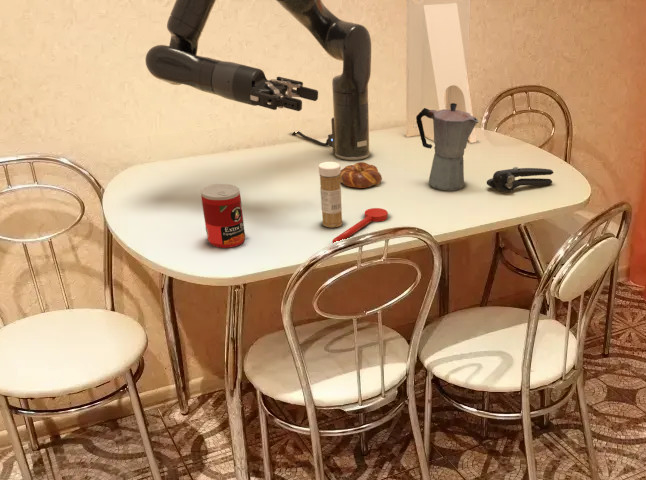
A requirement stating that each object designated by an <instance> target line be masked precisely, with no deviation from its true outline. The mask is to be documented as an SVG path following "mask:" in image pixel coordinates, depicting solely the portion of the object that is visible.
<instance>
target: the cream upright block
mask: <svg viewBox="0 0 646 480" xmlns="http://www.w3.org/2000/svg"><path fill="white" fill-rule="evenodd" d="M471 5H472V0H418V1H416V0H406V39H405V40H406V47H405V48H406V51H405V53H406V55H405V56H406V57H405V58H406V60H405V61H406V62H405V64H406V65H405V67H406V69H405V70H406V73H405V74H406V76H405V77H406V78H405V79H406V81H405V85H406V86H405V93H406V94H405V119H406V120H405V129H406V130H405V136H406V137H408V138H410V137H417V136H420V132H419V128H418V125H417V126H415V127H414V123H415V121H416V116H417V115H418V114H419V113H420V112H421V111H422V110H423V109H424V108H426V109H429V110H436V111H440V110H443V109H446V110H451V106H450V104H451V103H455V104H457V106H456V110H460V111H463V112H467V113H470V115H471V116H473V117H474V115H473V113H474V112H473V107H472V106H473V105H472V99H471V93H470V86H469V85H470V84H469V79H468V73H469V71H468V70H469V51H470V50H469V49H470V31H471V30H470V28H471ZM421 121H422V124H423V130H424V134H425V136H424V137H425V138H426V139H429V140H431V141H433V142H434V124H433V119H431V118H428V117H426V116H423V117H422V118H421ZM475 127H476V126H475ZM475 127H474V129H473V130H472V132H471V134H470V136H469V137H468V143H470V144H473V143H477V134H476V128H475Z"/></svg>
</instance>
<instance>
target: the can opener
mask: <svg viewBox="0 0 646 480" xmlns="http://www.w3.org/2000/svg"><path fill="white" fill-rule="evenodd" d="M553 174H554V171H553V170H552V169H549V168H539V167H538V168H537V167H521V168H519V167H518V166H514V167H512V168H509V169H501V170H497V171H495V172H494V173H493V175H492V177H491V178H489V179H487V180H486V185H488V187H490V188H492V189H496V190H499V191H500V192H503V193H511V192H513V191H514V190H515V189H516V188H518V187H521V186H529V187H531V186H533V187H542V186H548V185H551V184H552V183H553V180H552V179H551V178H540V177H539V178H536V177H535V176H551V175H553ZM519 177H520V178H519ZM525 177H527V178H525ZM528 177H530V178H528ZM531 177H535V178H531ZM516 178H518V179H516Z"/></svg>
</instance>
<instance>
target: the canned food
mask: <svg viewBox="0 0 646 480" xmlns="http://www.w3.org/2000/svg"><path fill="white" fill-rule="evenodd" d="M200 199H201V206H202V211H203V218H204V225H205V231H206V238H207V240H208V242H209V244H210V245H211V246H213V247H216V248H222V249H224V248H225V249H227V248H228V249H229V248H234V247H238V246H240V245H242V244H243V243H244V242H245V239H246V233H245V231H246V230H245V223H244V215H243V214H244V213H243V205H242V198H241V191H240V188H239V187H238V186H237V185H234V184H230V183H215V184H209V185H207V186H204V187H203V188H202V189H200Z"/></svg>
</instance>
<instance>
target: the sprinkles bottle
mask: <svg viewBox="0 0 646 480" xmlns="http://www.w3.org/2000/svg"><path fill="white" fill-rule="evenodd" d="M340 173H341V165H340V163H339V162H335V161H324V162H321V163H320V164H318V174H319V175H318V176H319V183H320V184H319V185H320V203H321V204H320V205H321V213H322V214H321V217H322V222H321V224H322V225H323V226H324V227H326V228H330V229H331V228H338V227H341V226H343V223H344V222H343V215H342V214H343V212H342V210H343V209H342V208H343V207H342V188H341V182H340Z"/></svg>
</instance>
